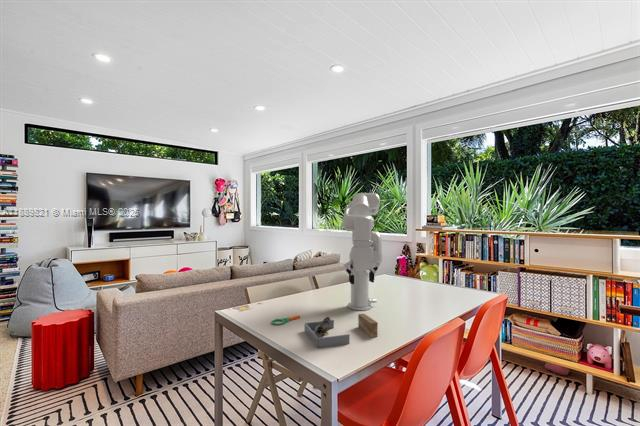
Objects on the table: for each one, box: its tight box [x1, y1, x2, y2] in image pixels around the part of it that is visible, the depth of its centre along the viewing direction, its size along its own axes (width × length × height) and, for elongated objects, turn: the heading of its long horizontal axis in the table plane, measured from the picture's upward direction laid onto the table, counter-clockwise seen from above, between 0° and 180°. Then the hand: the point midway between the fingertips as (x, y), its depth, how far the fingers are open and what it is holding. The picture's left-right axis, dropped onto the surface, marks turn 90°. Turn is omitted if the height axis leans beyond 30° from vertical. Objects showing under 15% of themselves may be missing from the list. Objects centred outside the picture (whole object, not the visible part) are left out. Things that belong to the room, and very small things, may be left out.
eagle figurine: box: [314, 316, 332, 338], centre depth 131 cm, size 8×7×9 cm
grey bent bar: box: [304, 319, 350, 349], centre depth 128 cm, size 13×18×4 cm
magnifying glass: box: [270, 314, 301, 326], centre depth 147 cm, size 15×6×2 cm, turn 128°
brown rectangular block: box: [357, 313, 379, 338], centre depth 134 cm, size 3×12×6 cm, turn 19°
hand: (361, 282), depth 137 cm, fingers open, 9 cm apart
